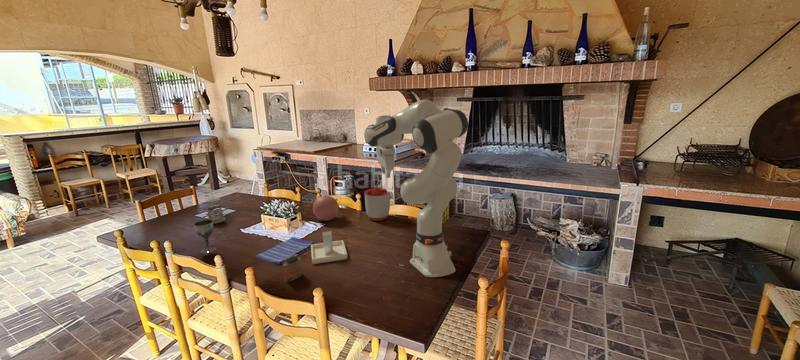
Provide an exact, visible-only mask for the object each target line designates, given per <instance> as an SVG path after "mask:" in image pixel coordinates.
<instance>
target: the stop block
mask: <svg viewBox="0 0 800 360" xmlns="http://www.w3.org/2000/svg"><path fill="white" fill-rule="evenodd" d="M332 233H333V232H332V230H330V231H322V241H323V242H322V243H324V252H325V255H327V254H333V243H332V242H333V234H332Z"/></svg>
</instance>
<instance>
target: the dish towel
mask: <svg viewBox="0 0 800 360" xmlns="http://www.w3.org/2000/svg"><path fill="white" fill-rule="evenodd" d="M312 244H315V241H312V240H305V239H302V238H297V237H294V236H292V237H290V238H289V239H287V240H285V241H283V242H282V243H279V244H277V245H275V246H273V247H271V248H269V249H267V250H265V251H263V252H261V253H258V254H256V255H254V257H255V258H256V259H258V258H259V259H258V260H261V259H262V260H261V261H264V262H266V263H269V262H270V263H269V264H273V265H276V264H277V266H280V265H283V264H284V263H285V262H284V259H285V258H288V257H290V255H295V254H297V255H298V256H299V255H301V254H302V253H305V252H307V251H309V250H311V245H312Z"/></svg>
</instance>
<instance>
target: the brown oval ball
mask: <svg viewBox="0 0 800 360" xmlns="http://www.w3.org/2000/svg"><path fill="white" fill-rule="evenodd" d="M339 208H340V207H339V203H338V198H334V197H333V196H330V195H322V196H319V197H318V198H316V199H315V201H314V202H313V204H312V211H313V215H314V216H315V218H317V220H320V221H324V222H326V221H332V220H333V219H334V218H336V216H337V215H338V213H339V210H340V209H339Z"/></svg>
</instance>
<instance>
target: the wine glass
mask: <svg viewBox="0 0 800 360" xmlns="http://www.w3.org/2000/svg"><path fill="white" fill-rule="evenodd" d="M193 226H194V230H195V233H196V234H197V236H198V237H200V238H202V239H203V240H204V242H205V244H206V247H205V248H203V249H201V250H200V254H202V255H203V254H204V255H205V254H211V253H213V252H215V251H216V250H217V247H215V246H210V245H209V239H210V237H211V235H212V234H213V233H214V223H213V221H212V220H209V219H202V220H198V221H196V222H194V225H193Z"/></svg>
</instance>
